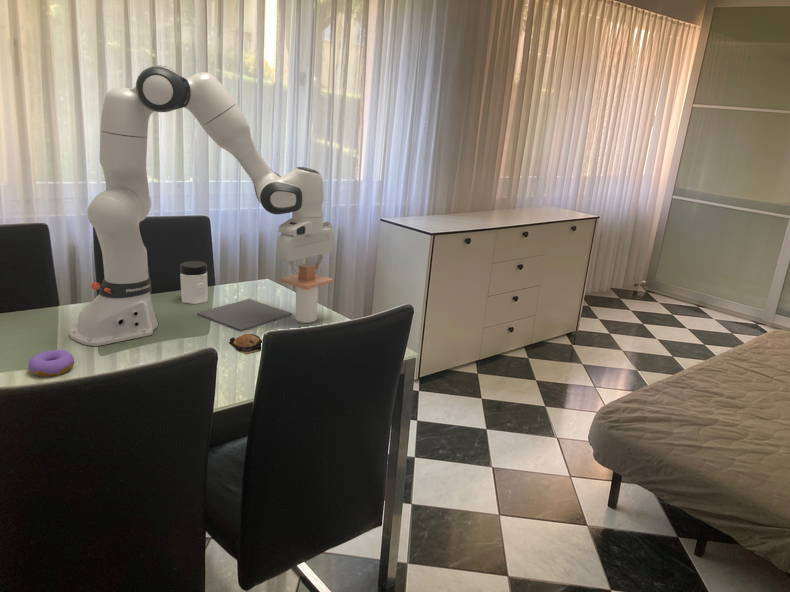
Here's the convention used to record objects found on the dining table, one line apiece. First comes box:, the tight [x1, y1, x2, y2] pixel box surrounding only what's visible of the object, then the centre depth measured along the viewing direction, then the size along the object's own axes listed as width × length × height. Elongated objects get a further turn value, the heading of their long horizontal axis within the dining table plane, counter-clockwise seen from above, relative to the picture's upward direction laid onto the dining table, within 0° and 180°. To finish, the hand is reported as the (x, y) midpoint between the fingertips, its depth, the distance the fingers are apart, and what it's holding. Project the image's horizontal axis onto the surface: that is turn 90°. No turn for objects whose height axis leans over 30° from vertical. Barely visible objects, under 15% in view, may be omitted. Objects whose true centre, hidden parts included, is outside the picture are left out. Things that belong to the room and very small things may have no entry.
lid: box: [279, 263, 334, 290], centre depth 181 cm, size 11×11×5 cm
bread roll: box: [228, 333, 263, 355], centre depth 163 cm, size 11×8×4 cm
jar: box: [179, 260, 209, 305], centre depth 195 cm, size 9×8×12 cm
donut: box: [27, 349, 75, 377], centre depth 143 cm, size 10×9×5 cm
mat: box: [196, 298, 293, 332], centre depth 186 cm, size 20×20×1 cm
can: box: [295, 286, 319, 324], centre depth 183 cm, size 6×6×12 cm
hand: (306, 271), depth 180 cm, fingers open, 8 cm apart
